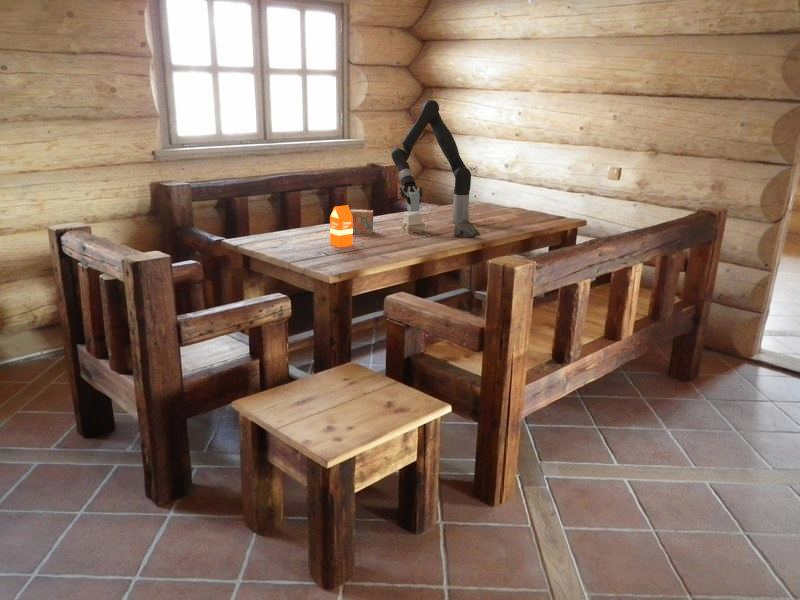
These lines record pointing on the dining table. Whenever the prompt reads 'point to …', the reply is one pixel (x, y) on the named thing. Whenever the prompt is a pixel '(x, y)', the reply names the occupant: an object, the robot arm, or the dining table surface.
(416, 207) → the pillar block
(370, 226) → the stack of blocks
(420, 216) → the tower top slab
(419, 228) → the tower bottom slab
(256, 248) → the dining table surface
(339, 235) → the orange juice
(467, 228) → the mineral rock
